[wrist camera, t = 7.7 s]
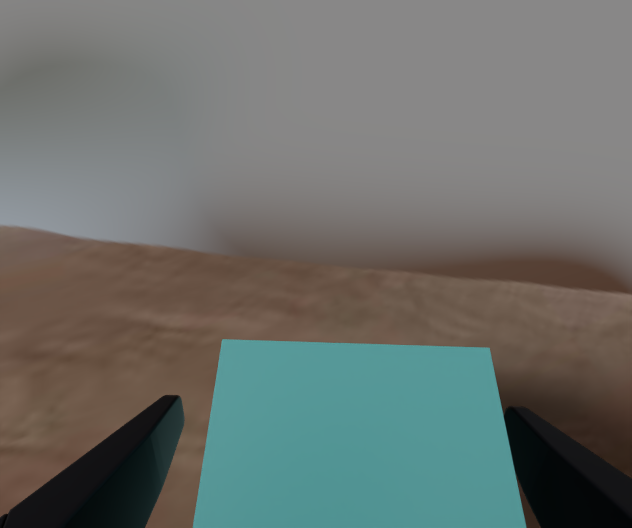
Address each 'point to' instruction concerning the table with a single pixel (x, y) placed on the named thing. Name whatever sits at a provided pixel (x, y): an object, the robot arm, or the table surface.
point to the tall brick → (356, 439)
